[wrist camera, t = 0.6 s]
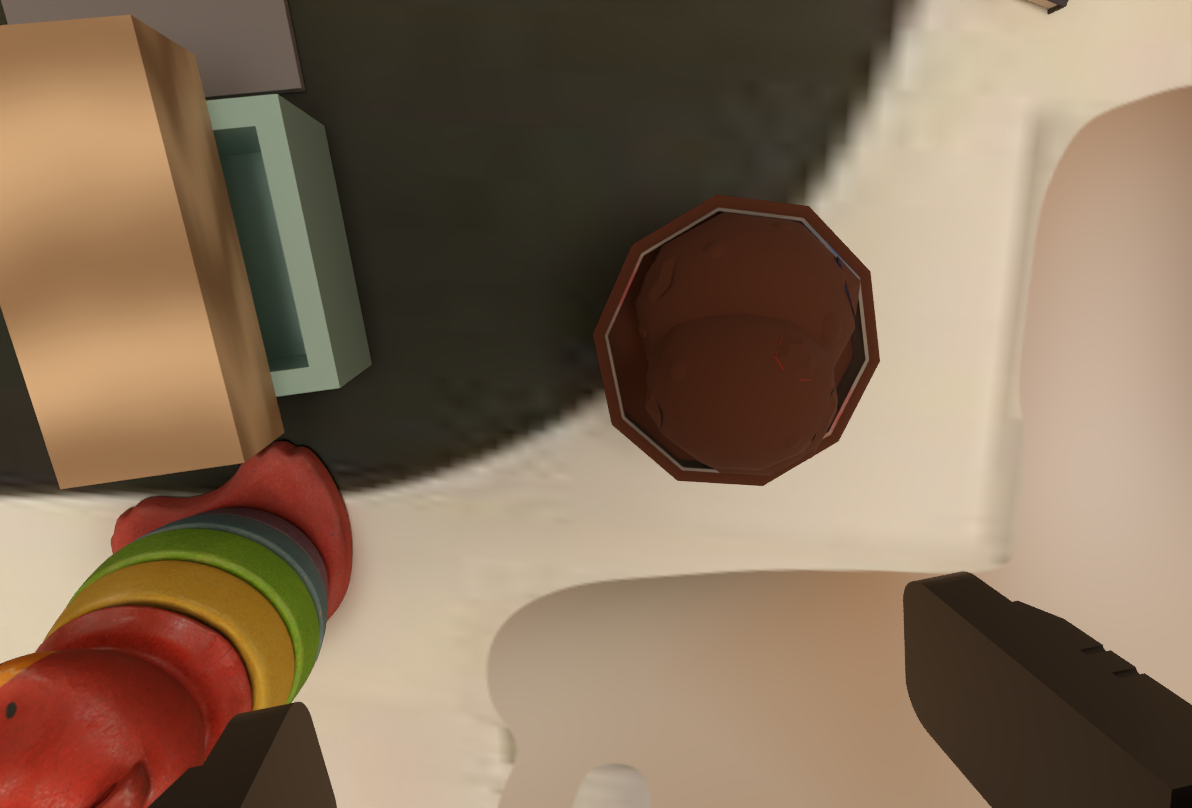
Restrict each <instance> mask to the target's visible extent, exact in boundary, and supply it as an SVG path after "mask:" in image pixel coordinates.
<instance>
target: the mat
mask: <svg viewBox="0 0 1192 808" xmlns="http://www.w3.org/2000/svg"><path fill="white" fill-rule="evenodd" d="M1 2H2V5H3V9H4V12H5V15H6V19H7V22H8V25H12V24H24V23H36V22H48V21H60V20H72V19H84V18H96V17H108V16H120V15H132V16H134V17H135V18H137V19H138V20H140V21H141V22H143V23H145V24H146V25H148V26H149V27H151V28H153V29H154V30H156V31H157V32H159V33H161V34H162V35H164V36H165V37H167V38H169V39H170V40H172V41H173V42H175V43H176V44H178V45H180V46H181V47H183V48H184V49H186V50H188V51H189V52H191V53H192V54H194V55H195V57H196V61H197V65H198V70H199V74H200V78H201V82H202V86H203V91H204V95H205V99H206V101H207V100H217V99H228V98H238V97H249V96H259V95H270V94H283V93H293V92H304V91H306V90H305V85H304V80H303V75H302V70H301V65H300V60H299V56H298V51H297V46H296V41H295V36H294V31H293V26H292V21H291V16H290V11H289V6H288V1H287V0H1Z"/></svg>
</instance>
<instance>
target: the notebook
mask: <svg viewBox="0 0 1192 808" xmlns="http://www.w3.org/2000/svg"><path fill="white" fill-rule="evenodd" d="M1027 1H1029V2H1032V3H1034V4H1037V5H1040V6H1042V7H1045V8H1047V9H1049V10H1048V14H1050V13H1053V12H1055V11H1057V10H1059V9H1061V8H1064V7H1066V5H1067V2H1068V0H1027Z"/></svg>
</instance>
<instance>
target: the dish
mask: <svg viewBox="0 0 1192 808" xmlns="http://www.w3.org/2000/svg"><path fill="white" fill-rule="evenodd" d="M206 103H207V108H208V112H209V116H210V120H211V124H212V129H213V133H214V137H215V141H216V146H217V150H218V154H219V158H220V162H221V167H222V171H223V175H224V179H225V183H226V188H227V192H228V196H229V200H230V205H231V209H232V213H233V217H234V221H235V226H236V230H237V234H238V238H239V243H240V247H241V251H242V255H243V259H244V264H245V268H246V272H247V276H248V280H249V285H250V289H251V293H252V297H253V302H254V306H255V310H256V314H257V318H258V323H259V327H260V331H261V335H262V340H263V344H264V348H265V352H266V356H267V361H268V365H269V369H270V373H271V378H272V382H273V386H274V390H275V394H276V397H277V396H285V395H292V394H299V393H307V392H314V391H322V390H329V389H336V388H341V387H342V386H343V385H345V384H346V383H347V382H349V381H350V380H352V379H353V378H354V377H356V376H357V375H358V374H360V373H361V372H362V371H364V370H365V369H366V368H368V367H369V366H370V365H372V362H371V357H370V352H369V347H368V342H367V337H366V332H365V327H364V322H363V317H362V312H361V307H360V302H359V297H358V292H357V287H356V282H355V277H354V272H353V267H352V262H351V257H350V252H349V247H348V242H347V237H346V232H345V227H344V222H343V217H342V212H341V207H340V202H339V197H338V192H337V187H336V182H335V177H334V172H333V167H332V162H331V156H330V151H329V146H328V141H327V136H326V131H325V126H324V125H322V124H321V123H319V122H318V121H316V120H315V119H314V118H312V117H311V116H309V115H308V114H306V113H305V112H303V111H302V110H300V109H299V108H297V107H296V106H295V105H293V104H292V103H290V102H289V101H287V100H286V99H284V98H283V97H281V96H280V95H278V94H270V95H259V96H249V97H238V98H228V99H217V100H207V101H206Z"/></svg>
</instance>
